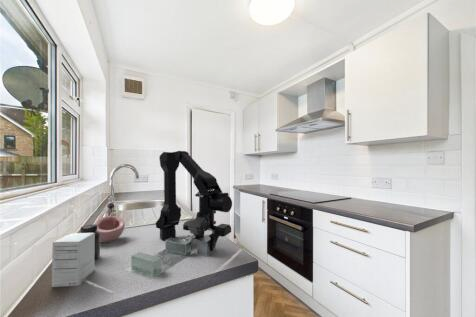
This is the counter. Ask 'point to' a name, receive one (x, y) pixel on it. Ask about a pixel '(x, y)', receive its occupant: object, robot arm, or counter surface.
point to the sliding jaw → (180, 245)
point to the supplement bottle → (92, 229)
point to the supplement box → (72, 259)
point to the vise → (154, 263)
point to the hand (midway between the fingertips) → (206, 249)
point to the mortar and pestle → (110, 228)
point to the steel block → (204, 246)
